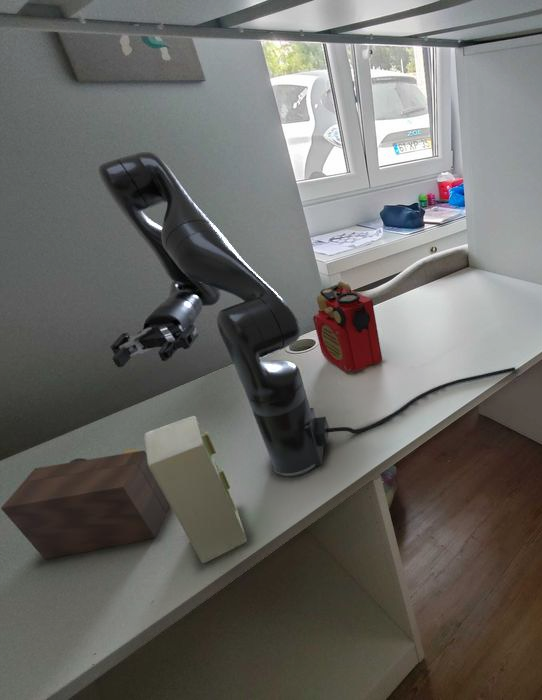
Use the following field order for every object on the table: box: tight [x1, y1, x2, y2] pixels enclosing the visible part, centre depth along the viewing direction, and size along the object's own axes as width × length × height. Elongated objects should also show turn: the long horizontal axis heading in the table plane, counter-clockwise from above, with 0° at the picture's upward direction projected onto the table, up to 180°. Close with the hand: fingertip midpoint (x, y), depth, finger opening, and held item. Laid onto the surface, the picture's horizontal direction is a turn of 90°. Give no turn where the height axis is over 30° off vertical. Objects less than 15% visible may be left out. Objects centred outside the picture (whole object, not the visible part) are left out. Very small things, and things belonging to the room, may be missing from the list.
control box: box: [0, 449, 171, 560], centre depth 72 cm, size 16×11×12 cm
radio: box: [312, 280, 383, 372], centre depth 112 cm, size 16×10×20 cm, turn 45°
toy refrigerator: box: [143, 415, 248, 564], centre depth 67 cm, size 8×7×21 cm
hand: (140, 359), depth 82 cm, fingers open, 7 cm apart
